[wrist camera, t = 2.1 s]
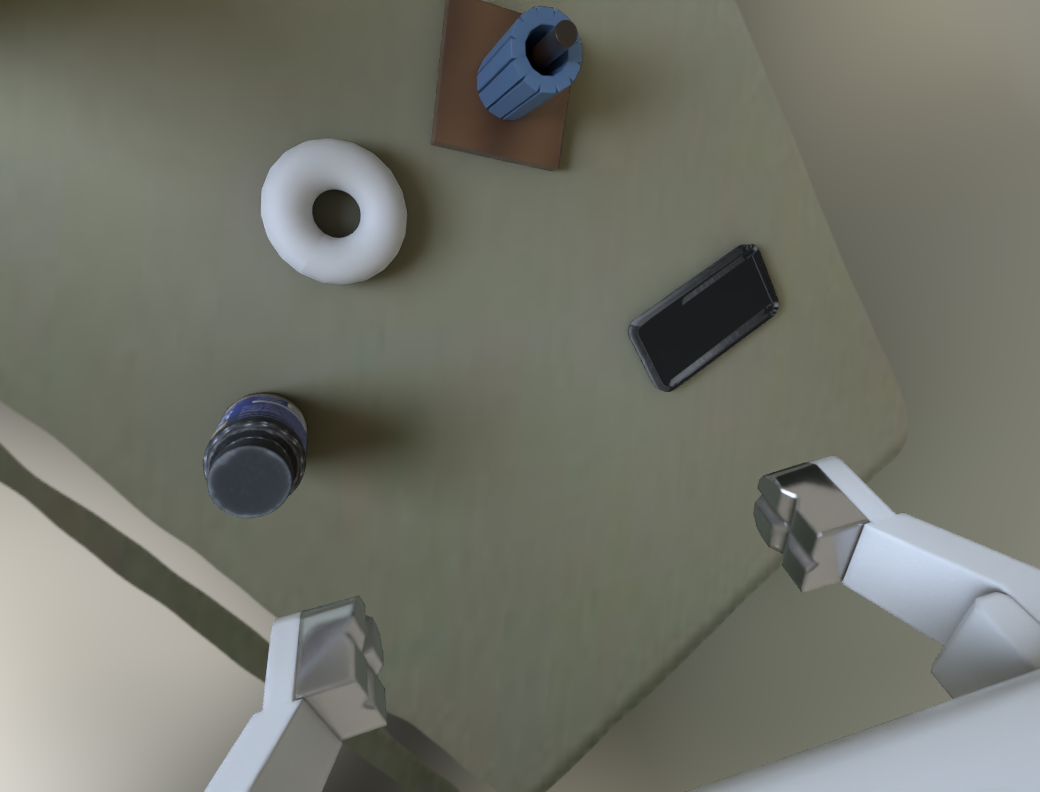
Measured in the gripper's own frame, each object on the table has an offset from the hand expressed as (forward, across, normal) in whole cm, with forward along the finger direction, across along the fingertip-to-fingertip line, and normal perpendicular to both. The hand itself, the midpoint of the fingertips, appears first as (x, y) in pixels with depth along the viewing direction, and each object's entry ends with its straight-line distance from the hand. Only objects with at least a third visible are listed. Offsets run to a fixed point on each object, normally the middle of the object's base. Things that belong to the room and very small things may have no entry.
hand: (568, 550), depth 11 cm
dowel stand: (+42, -8, 0) cm, 42 cm away
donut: (+37, +7, +5) cm, 38 cm away
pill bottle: (+31, +17, +18) cm, 39 cm away
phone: (+36, -23, +22) cm, 48 cm away
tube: (+40, -8, -1) cm, 41 cm away
